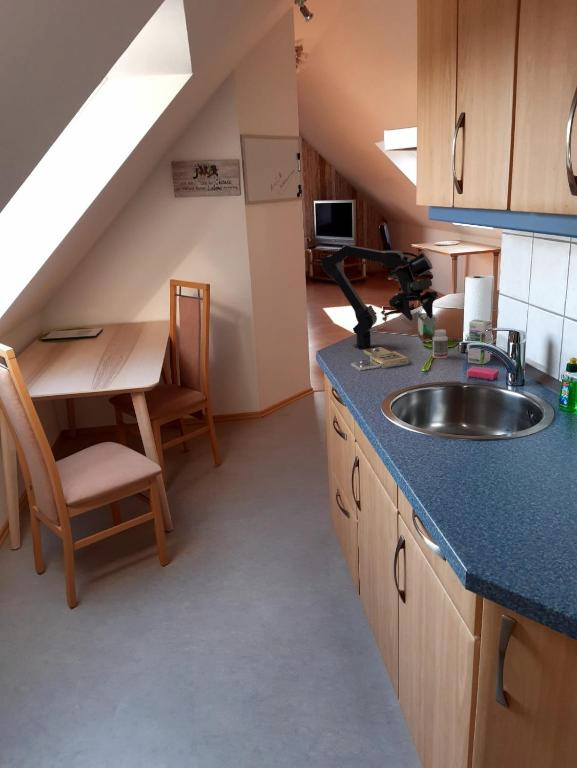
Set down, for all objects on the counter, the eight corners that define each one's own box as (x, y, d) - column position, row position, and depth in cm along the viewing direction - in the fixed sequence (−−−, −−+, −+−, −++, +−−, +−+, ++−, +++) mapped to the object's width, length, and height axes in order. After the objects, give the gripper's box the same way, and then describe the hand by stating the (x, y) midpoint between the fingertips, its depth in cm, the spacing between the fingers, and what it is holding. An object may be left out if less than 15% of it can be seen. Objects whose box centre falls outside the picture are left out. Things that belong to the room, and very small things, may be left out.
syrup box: (467, 362, 211) (468, 321, 206) (475, 358, 215) (476, 318, 210) (482, 365, 207) (484, 323, 202) (490, 360, 211) (492, 319, 206)
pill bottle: (450, 357, 218) (451, 330, 215) (438, 359, 216) (438, 333, 213) (441, 354, 223) (441, 328, 220) (429, 356, 221) (429, 330, 218)
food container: (439, 343, 237) (439, 318, 234) (423, 344, 237) (423, 319, 234) (432, 336, 249) (432, 312, 245) (417, 337, 249) (417, 312, 246)
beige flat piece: (340, 359, 225) (339, 351, 224) (383, 352, 230) (383, 344, 229) (361, 371, 208) (361, 363, 207) (408, 363, 214) (408, 356, 213)
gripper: (398, 270, 213) (413, 309, 209) (439, 269, 222) (454, 306, 217) (382, 287, 223) (396, 325, 218) (421, 285, 231) (436, 321, 226)
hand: (421, 319), depth 220 cm, fingers open, 9 cm apart
